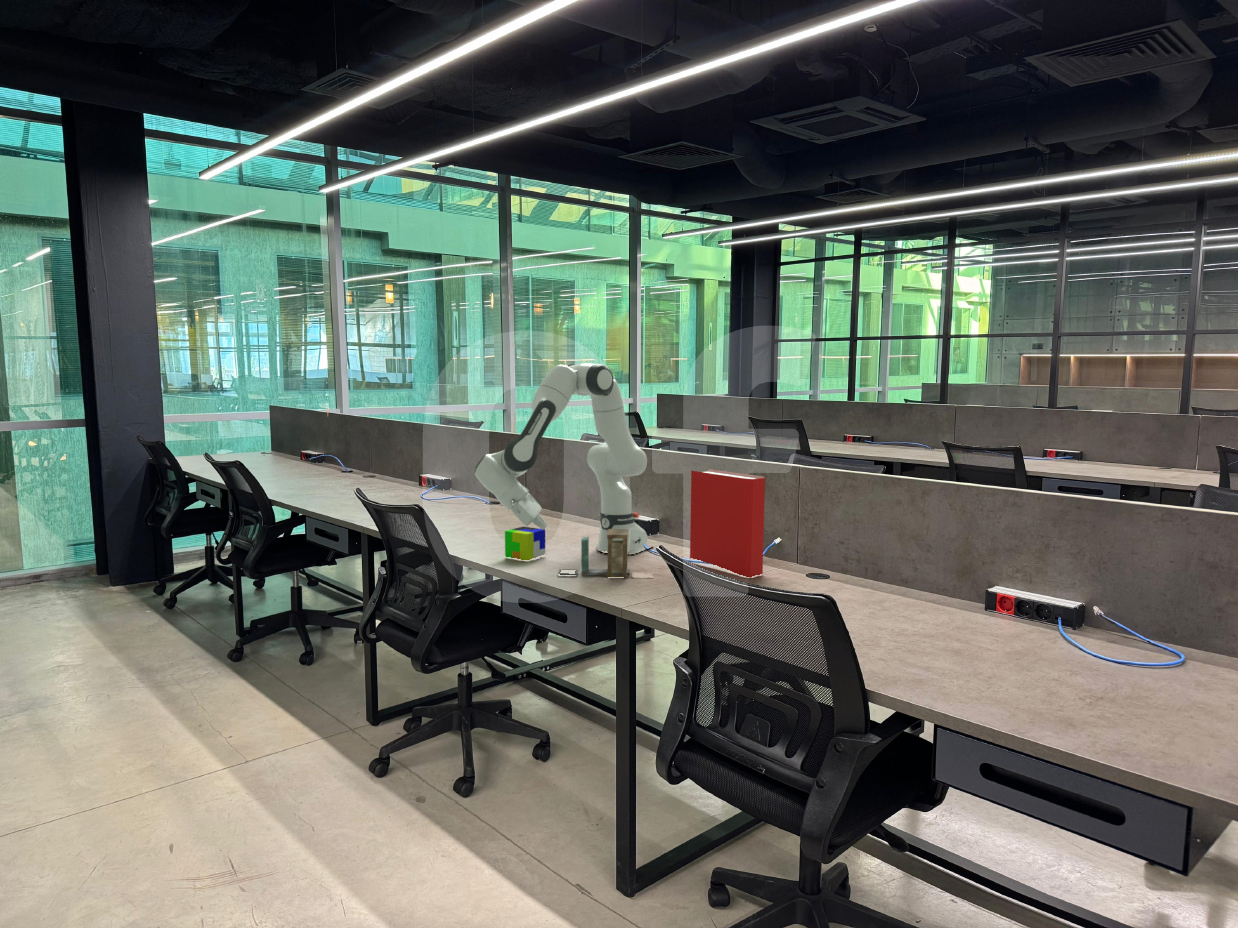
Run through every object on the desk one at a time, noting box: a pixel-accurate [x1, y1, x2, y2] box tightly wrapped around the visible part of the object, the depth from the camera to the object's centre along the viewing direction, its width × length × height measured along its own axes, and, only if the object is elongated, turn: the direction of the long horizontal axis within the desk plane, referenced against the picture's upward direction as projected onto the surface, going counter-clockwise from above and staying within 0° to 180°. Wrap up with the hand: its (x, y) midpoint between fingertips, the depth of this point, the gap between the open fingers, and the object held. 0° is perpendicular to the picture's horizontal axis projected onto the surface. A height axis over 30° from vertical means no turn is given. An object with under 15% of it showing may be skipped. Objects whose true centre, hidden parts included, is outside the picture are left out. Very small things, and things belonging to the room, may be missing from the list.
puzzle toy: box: [504, 525, 546, 560], centre depth 278 cm, size 10×10×10 cm
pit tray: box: [557, 568, 579, 576], centre depth 256 cm, size 6×6×1 cm
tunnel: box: [607, 529, 628, 579], centre depth 255 cm, size 6×9×14 cm
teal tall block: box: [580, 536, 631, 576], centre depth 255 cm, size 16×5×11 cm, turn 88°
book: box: [689, 468, 766, 577], centre depth 263 cm, size 27×8×32 cm, turn 37°
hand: (545, 527), depth 254 cm, fingers closed
